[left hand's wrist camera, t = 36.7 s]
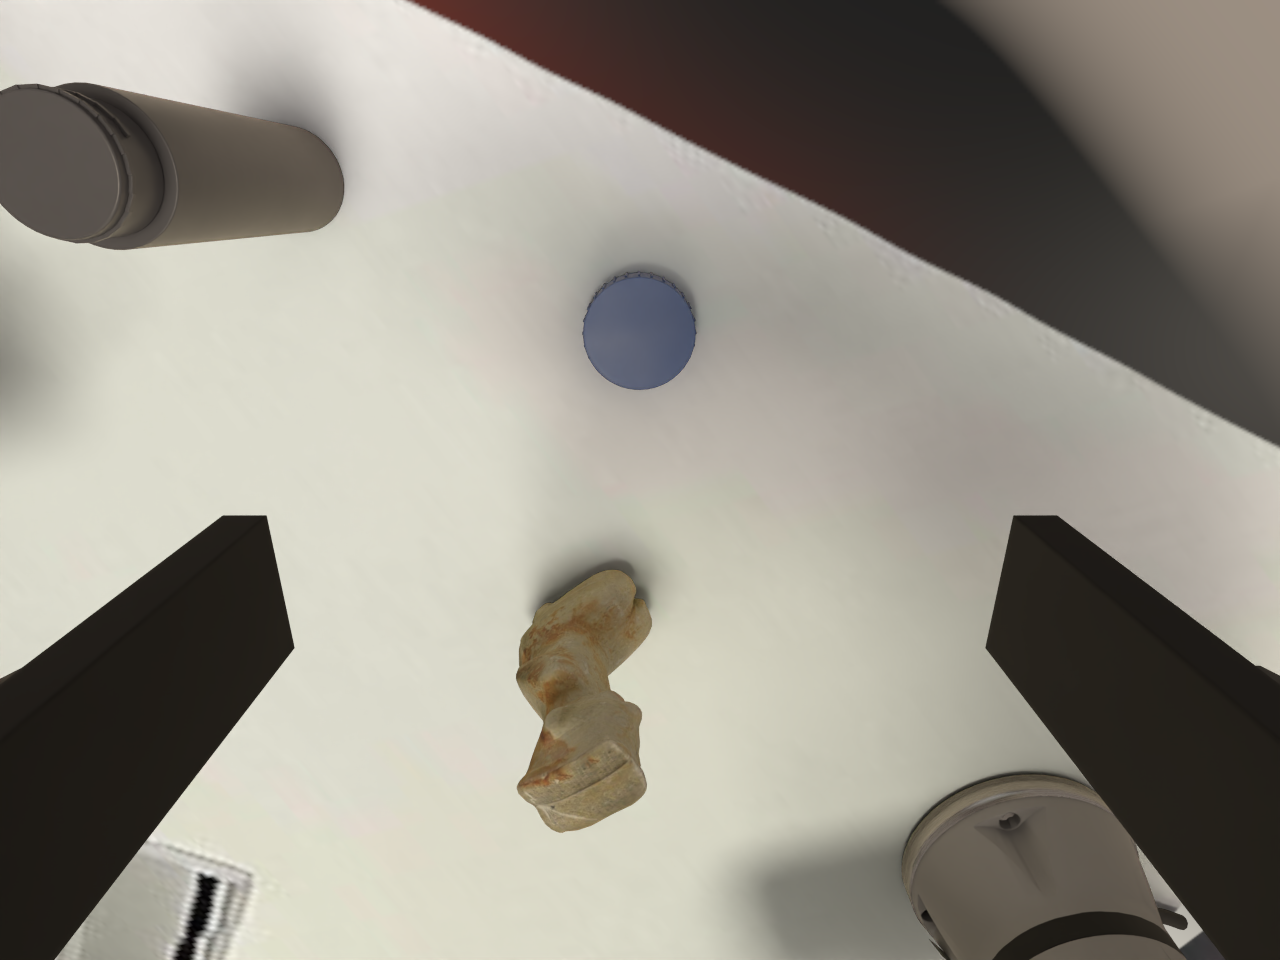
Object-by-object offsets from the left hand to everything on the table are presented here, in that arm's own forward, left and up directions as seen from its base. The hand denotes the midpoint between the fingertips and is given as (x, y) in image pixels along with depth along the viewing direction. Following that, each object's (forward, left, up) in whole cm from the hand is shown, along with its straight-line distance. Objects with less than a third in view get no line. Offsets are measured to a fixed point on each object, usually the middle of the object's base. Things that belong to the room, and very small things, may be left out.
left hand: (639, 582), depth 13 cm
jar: (+18, 0, -26) cm, 32 cm away
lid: (0, 0, -24) cm, 24 cm away
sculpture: (-4, +16, -26) cm, 31 cm away
